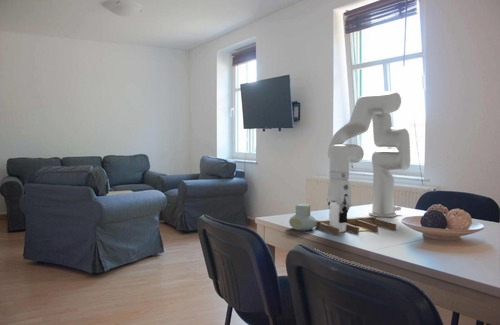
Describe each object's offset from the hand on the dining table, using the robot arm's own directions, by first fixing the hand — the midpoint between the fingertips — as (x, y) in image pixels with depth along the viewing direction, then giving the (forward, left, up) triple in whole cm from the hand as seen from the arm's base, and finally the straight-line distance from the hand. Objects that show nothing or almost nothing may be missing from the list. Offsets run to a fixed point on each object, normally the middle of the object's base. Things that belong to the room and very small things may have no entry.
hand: (337, 220), depth 161 cm
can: (0, 0, -4) cm, 4 cm away
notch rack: (-9, 0, -4) cm, 10 cm away
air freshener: (+12, -7, -4) cm, 15 cm away
